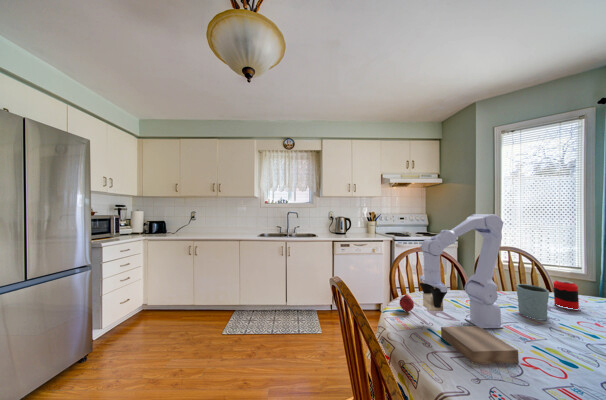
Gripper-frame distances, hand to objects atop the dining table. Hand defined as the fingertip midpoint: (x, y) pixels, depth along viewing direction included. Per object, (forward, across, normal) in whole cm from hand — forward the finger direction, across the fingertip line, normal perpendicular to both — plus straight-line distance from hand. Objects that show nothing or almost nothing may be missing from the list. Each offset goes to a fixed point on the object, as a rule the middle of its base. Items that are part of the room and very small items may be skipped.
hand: (432, 304), depth 89 cm
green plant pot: (+8, -6, +49) cm, 50 cm away
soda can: (+8, -14, +75) cm, 77 cm away
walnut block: (+8, +16, +4) cm, 18 cm away
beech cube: (+2, 0, 0) cm, 2 cm away
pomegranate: (+8, -11, -5) cm, 14 cm away
